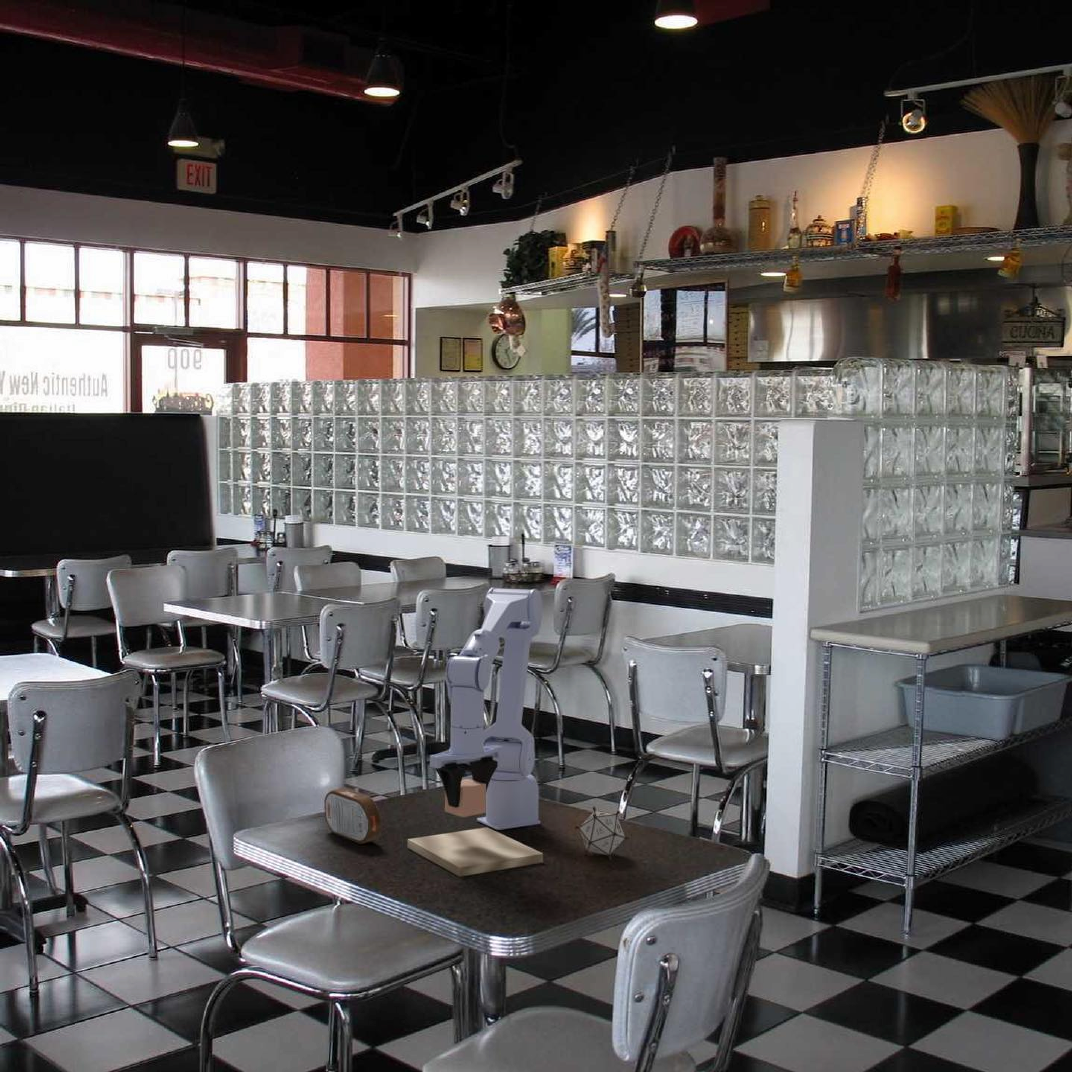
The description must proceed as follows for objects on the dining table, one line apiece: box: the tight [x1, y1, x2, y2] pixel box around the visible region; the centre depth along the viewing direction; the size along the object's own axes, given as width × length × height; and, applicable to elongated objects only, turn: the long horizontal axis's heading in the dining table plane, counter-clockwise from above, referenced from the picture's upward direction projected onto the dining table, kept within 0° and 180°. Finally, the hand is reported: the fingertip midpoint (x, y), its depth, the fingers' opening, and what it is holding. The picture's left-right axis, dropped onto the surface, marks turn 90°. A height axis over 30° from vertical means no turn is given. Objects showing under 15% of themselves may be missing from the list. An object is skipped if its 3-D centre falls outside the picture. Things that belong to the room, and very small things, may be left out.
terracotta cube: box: [444, 778, 486, 818], centre depth 226 cm, size 5×5×5 cm
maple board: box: [407, 826, 544, 878], centre depth 225 cm, size 16×19×2 cm
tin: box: [323, 786, 382, 845], centre depth 234 cm, size 15×3×8 cm, turn 42°
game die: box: [573, 805, 631, 861], centre depth 225 cm, size 9×8×10 cm
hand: (466, 803), depth 226 cm, fingers closed on terracotta cube, 5 cm apart
